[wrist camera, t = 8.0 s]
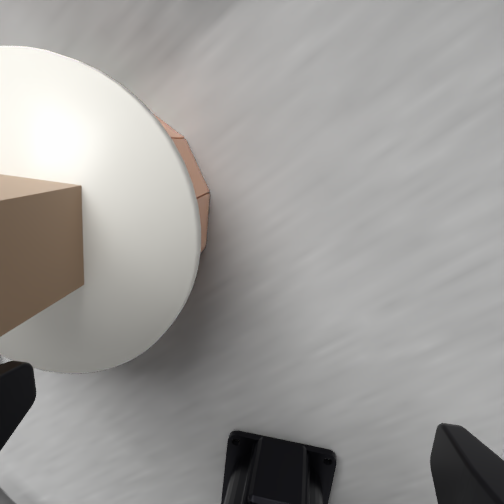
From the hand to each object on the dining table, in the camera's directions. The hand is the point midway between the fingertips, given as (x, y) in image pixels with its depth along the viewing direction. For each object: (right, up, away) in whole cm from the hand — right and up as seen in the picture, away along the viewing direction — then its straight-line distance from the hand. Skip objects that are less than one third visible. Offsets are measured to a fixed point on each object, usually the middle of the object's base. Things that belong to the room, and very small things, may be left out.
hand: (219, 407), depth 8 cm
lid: (-8, +4, +7) cm, 12 cm away
